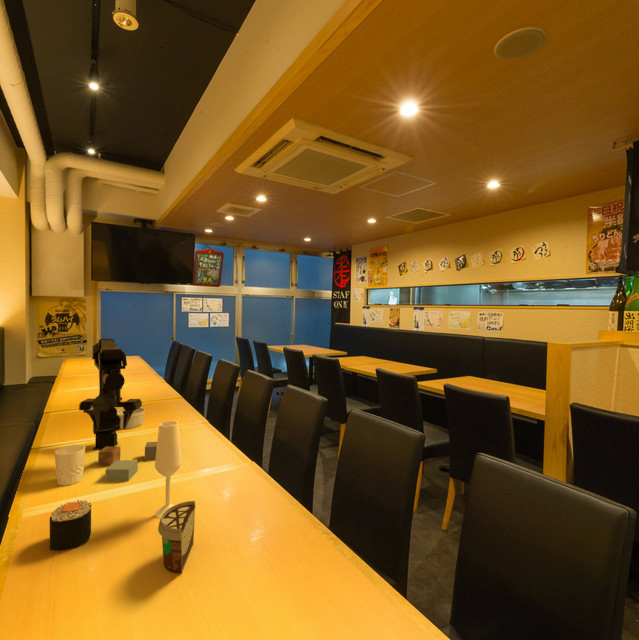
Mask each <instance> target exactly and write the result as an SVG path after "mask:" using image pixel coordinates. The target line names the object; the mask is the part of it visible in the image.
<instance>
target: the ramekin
mask: <svg viewBox="0 0 639 640" xmlns="http://www.w3.org/2000/svg"><path fill="white" fill-rule="evenodd" d="M116 410H117V415H119V418H121V422H120V429H119V430H124V429H123V420H124V414H123V411H124V409H123V407H121V408H119V409H116ZM145 412H146V409H145V407H142V406H141V407H140V408H138V409H137V410H135V411H134V412H133V414H132V416H131V418H130V420H129V422H128V424H127V427H126V429H125V430H131V429H136V428H139V427H141V426H142V425H143V423H144V419H145Z"/></svg>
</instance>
